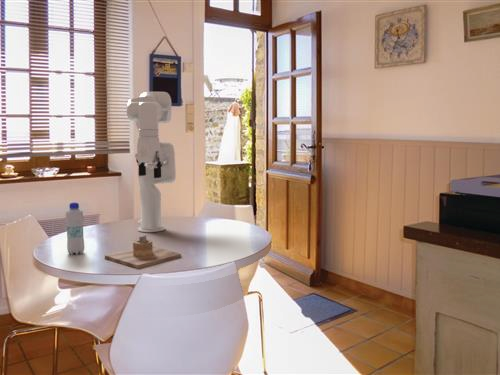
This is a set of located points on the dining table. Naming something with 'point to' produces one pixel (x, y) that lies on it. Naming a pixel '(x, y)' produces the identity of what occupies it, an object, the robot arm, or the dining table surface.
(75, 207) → the bottle
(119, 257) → the post board
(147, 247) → the collar
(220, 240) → the dining table surface
